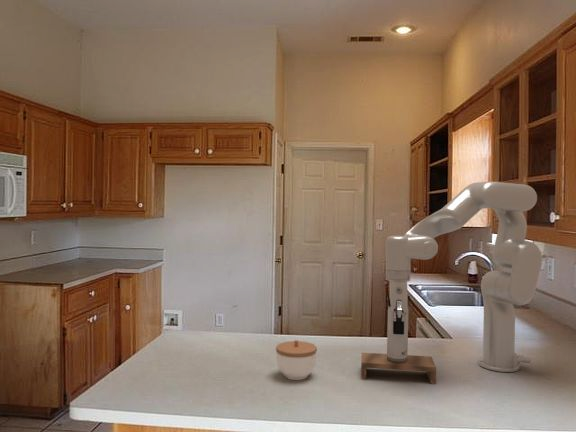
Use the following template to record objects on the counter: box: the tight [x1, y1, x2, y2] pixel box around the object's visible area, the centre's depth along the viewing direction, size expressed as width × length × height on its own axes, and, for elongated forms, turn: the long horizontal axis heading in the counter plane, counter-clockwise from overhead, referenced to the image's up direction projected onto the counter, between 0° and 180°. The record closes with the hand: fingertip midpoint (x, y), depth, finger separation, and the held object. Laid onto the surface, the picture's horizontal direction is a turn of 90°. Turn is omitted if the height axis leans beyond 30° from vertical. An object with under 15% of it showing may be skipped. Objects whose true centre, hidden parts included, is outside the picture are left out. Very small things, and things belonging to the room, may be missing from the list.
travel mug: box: [386, 295, 411, 362], centre depth 143 cm, size 6×7×20 cm
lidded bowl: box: [275, 339, 317, 381], centre depth 142 cm, size 13×13×11 cm
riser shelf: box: [360, 352, 437, 385], centre depth 143 cm, size 22×10×5 cm, turn 80°
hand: (397, 329), depth 143 cm, fingers open, 9 cm apart
